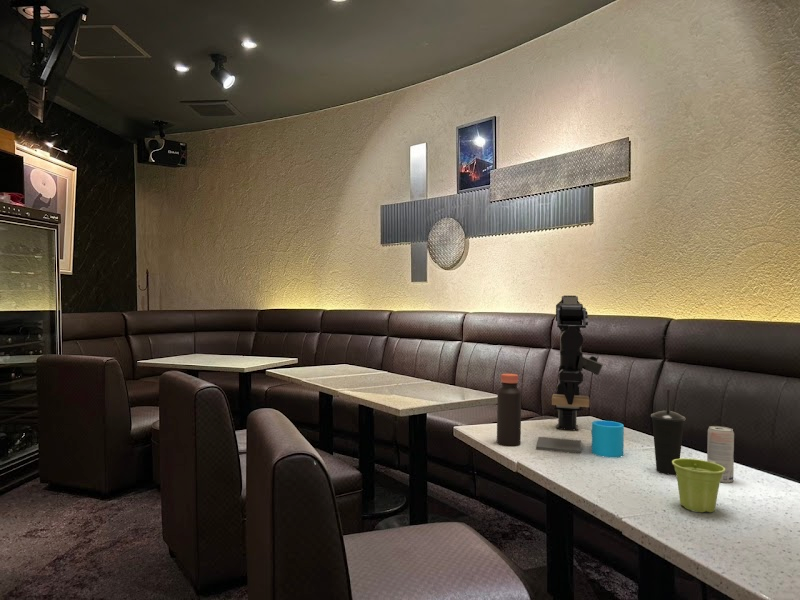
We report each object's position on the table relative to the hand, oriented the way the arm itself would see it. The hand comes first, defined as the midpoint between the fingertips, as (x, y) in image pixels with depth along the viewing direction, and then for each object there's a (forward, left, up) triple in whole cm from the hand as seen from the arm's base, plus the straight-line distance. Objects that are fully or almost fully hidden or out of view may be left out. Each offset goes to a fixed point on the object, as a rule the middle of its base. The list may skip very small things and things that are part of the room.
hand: (569, 402), depth 154 cm
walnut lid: (0, 0, -1) cm, 1 cm away
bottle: (+2, -17, -13) cm, 21 cm away
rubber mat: (0, -3, -13) cm, 13 cm away
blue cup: (+1, +9, -13) cm, 16 cm away
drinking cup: (+15, +23, -13) cm, 30 cm away
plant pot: (+39, +25, -13) cm, 48 cm away
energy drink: (+17, +34, -13) cm, 40 cm away
